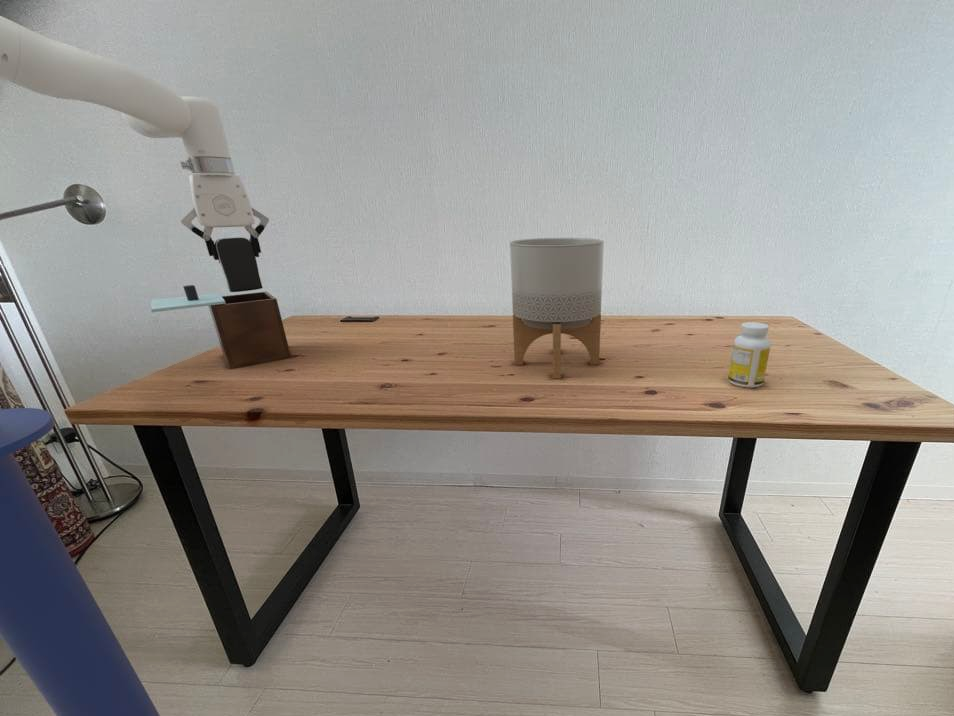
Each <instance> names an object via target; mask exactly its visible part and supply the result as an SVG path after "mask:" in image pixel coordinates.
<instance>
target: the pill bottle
mask: <svg viewBox="0 0 954 716" xmlns="http://www.w3.org/2000/svg"><path fill="white" fill-rule="evenodd" d="M769 328H770V327H769V325H768V324H766V323H762V322H755V321H754V322H753V321H747V322H743V323H741V325H740V333H741V334H740V335H738V336H737V337H735V338H734V340H733V345H732V352H731V357H730V364H729V371H728V378H727V379H728V382H729V383H730V384H732V385H734V386H736V387H737V386H738V387H742V388H748V389H749V388H751V389H752V388H758V387H761V386H762V385H763V384H764V382H765V378H766V371H767V366H768V361H769V358H770V357H769V356H770V351H771V345H772V343H771V341H770V339H769V338H768V337H766V336H767V335H768V333H769Z"/></svg>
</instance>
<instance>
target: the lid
mask: <svg viewBox="0 0 954 716" xmlns="http://www.w3.org/2000/svg"><path fill="white" fill-rule="evenodd" d="M182 288H183V290H184V293H185V296H178V297H168V298H159V299H151V301H150V302H151V303H150V305H151V306H150V310H151V313H157V312H165V311H175V310H184V309H192V308H193V309H194V308H200V307H208V306H210V305H219V304H226V302H225V300H224V299H223V298H222V296H223V295H221V294H220V293H219V292H215V293H207V294H198V292H197V288H196V286H195V285H194V284H191V285H190V284H189V285H183V287H182Z"/></svg>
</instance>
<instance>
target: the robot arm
mask: <svg viewBox="0 0 954 716" xmlns="http://www.w3.org/2000/svg"><path fill="white" fill-rule="evenodd" d="M0 79H2V80H5V81H7V82H10V83H11V84H14V85H17V86H18V87H22V88H24V89H27V90H29V91H32V92H34V93H36V94H40V95H42V96H43V95H44V96H48V97H52V98H56V99H60V100H61V99H62V100H73V101H80V102H85V103H90V104H94V105H95V104H96V105H99V106H102V107H105V108H109V109H111V110H114V111H116V112H120V114H121V117H122V119H123V121H124V122H125V124H127V126H128V127H129V128H130V129H131V130H133V131H134V132H136V133H138V134H139V135H142V136H144V137H147V138H150V139H167V138H169V139H170V138H171V139H172V138H180V139H181V140H182V143H183V147H184V150H185V154H186V157H187V159H186V160H184V161H179V162H180V167H181V169H182V170H187V171H189V172H191V175H188V183H189V187H190V194H191V200H192V204H193V208H192V209H191V210H189V212H188V213H187V214H185V216H184V217H182V219H180V223H181V224H182V225H183V226H184V227H186V228H187V229H188V230H190V231H191V232H192V233H193V234H195V235H197V236H198V237H200V239H203V240H204V243H205V245H206V249H207V253H208V256H209V257H213V260H214V261H219V260H218V259H219V258H218V254H217V251H216V247H215V241H214V240H213V238H212V233H213V229H214V228H238V227H239V228H241V227H243V228H244V229H245V231H246V232H247V233H248V234H249V239H248V240H249V241H250V242H251V244H252V246H253V250H254V253H255V257H256V258H259V257H260V254H261V253H262V250H261V246H260V242H259V237H260V235H262V233H263V231H265V229H266V227H267V225H268V224H269V222H270V218H269V217H267V216H266V215H264V214H263V213H261V212H260V211H258V210H257V209H255V208H253V207H252V205H251V202H250V197H249V195H248V192H247V189H246V188H245V184H244V182H243V180H242V178H241V176H240V175H236V172H235V168H234V165H233V159H232V158H231V152H230V149H229V145H228V142H227V138H226V133H225V130H224V126H223V122H222V117H221V114H220V110H219V108H218V106H217V104H216V103H215V102H214V101H212V100H211V99H208V98H205V97H200V96H193V95H192V96H190V95H189V96H188V95H187V96H186V95H182V96H181V95H180V94H179V93H178V92H176V91H175V90H174V89H172V88H171V87H169V86H168V85H166V84H164V83H163V82H161V81H158V80H156V79H154V78H152V77H150V76H148V75H146V74H144V73H142V72H140V71H138V70H136V69H134V68H131V67H129V66H127V65H125V64H123V63H120V62H118V61H116V60H113V59H110V58H107V57H105V56H103V55H99V54H96V53H93V52H91V51H87V50H84V49H82V48H79V47H77V46H74V45H71V44H68V43H65V42H62V41H58V40H55V39H52V38H50V37H48V36H45V35H43V34H41V33H38V32H36V31H34V30H31V29H29V28H27V27H25V26H24V25H21V24H19V23H17V22H15V21H13V20H10V19H8V18H6V17H4V16H2V15H0ZM195 218H197V220H198V223H199V224H200V225H201V226H203V227H204V228H203V231H202V229H200V228H198V227H197V226H195V225H194V224H193V223H192V221H194V220H195ZM255 218H257V219H258V220H259V223H258V224H257V225H256V227H255V228H254V227H253V225H254V224H255V223H256V222H255V221H256V220H255Z"/></svg>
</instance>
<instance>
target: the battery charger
mask: <svg viewBox="0 0 954 716" xmlns="http://www.w3.org/2000/svg"><path fill="white" fill-rule="evenodd" d="M214 244H215V247H216V251H217V254H218V258H219V259H218V260H217V261H218V263H219V264H220V266H221V267H220V268H221V269H222V273H223V275H224V278H225V281H226V285H227V290H228V291H229V292H230V293H240V292H248V291H250V292H251V291H256V290H260V289H263V284H262V281H261V276H260V272H259V267H258V262H257V257H255V253H254V250H253V246H252V244H251V242H250V239H248V238H247V237H242V236H240V237H239V236H238V237H237V236H236V237H223V238H218V239H216V241H214Z"/></svg>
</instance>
